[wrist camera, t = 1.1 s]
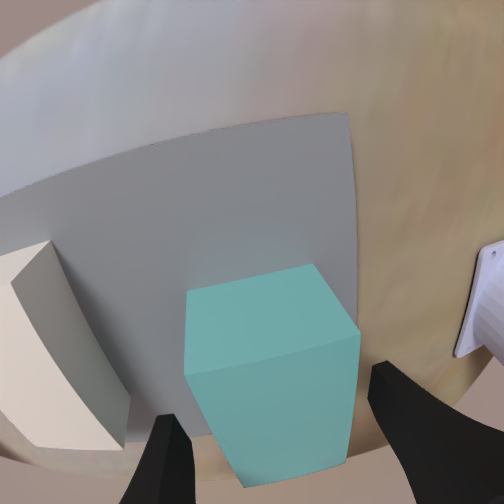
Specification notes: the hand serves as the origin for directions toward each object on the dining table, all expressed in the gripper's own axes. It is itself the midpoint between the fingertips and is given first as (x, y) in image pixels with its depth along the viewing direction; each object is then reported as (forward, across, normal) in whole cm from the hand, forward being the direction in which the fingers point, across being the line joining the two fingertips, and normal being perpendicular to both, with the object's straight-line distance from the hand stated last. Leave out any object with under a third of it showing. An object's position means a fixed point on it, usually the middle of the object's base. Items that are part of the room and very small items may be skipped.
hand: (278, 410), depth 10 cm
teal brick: (+3, 0, 0) cm, 3 cm away
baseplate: (+4, +5, -2) cm, 7 cm away
